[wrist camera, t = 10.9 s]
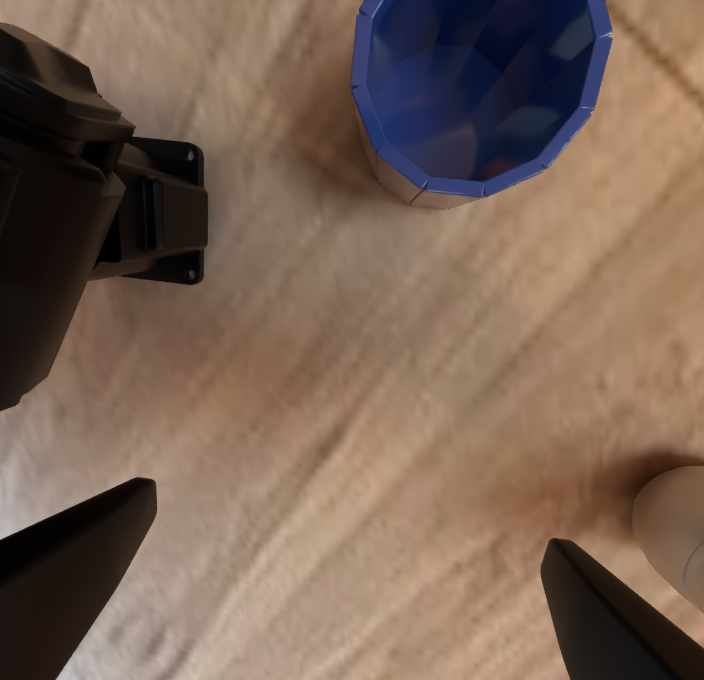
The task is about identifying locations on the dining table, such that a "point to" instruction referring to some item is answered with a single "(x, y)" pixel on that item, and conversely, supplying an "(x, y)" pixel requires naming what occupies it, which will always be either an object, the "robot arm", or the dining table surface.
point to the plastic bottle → (674, 529)
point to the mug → (473, 91)
